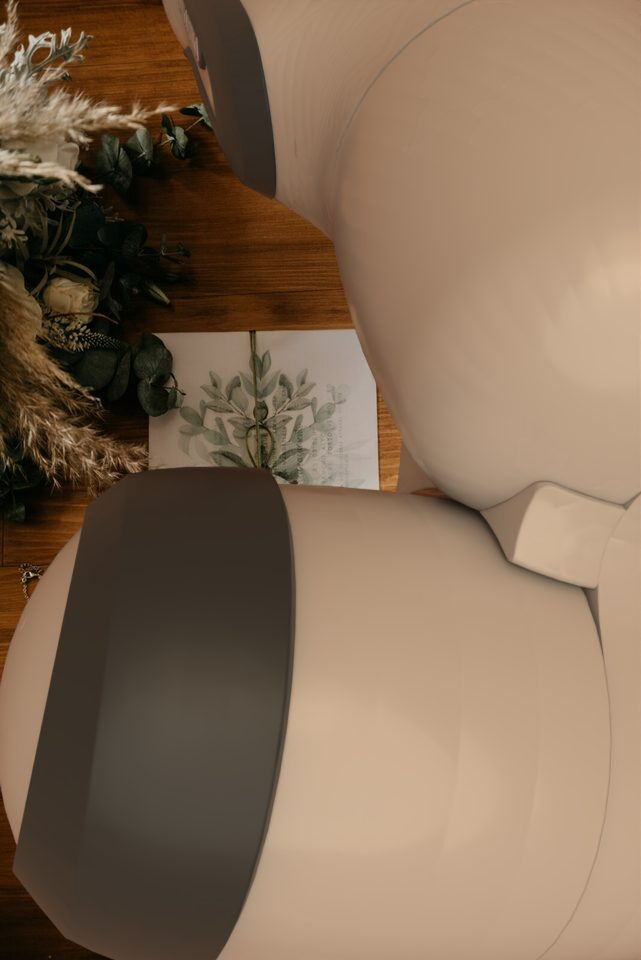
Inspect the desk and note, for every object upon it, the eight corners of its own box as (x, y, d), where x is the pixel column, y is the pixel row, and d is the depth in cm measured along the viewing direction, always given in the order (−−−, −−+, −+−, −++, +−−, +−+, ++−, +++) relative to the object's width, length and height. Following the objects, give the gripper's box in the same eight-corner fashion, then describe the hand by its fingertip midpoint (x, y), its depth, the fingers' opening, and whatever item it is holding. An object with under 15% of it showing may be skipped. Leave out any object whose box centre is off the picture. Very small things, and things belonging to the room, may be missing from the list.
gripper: (303, -206, 48) (307, -42, 62) (352, 85, 46) (345, 187, 60) (396, -220, 48) (380, -53, 62) (448, 70, 47) (419, 175, 60)
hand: (363, 67), depth 61 cm, fingers closed
